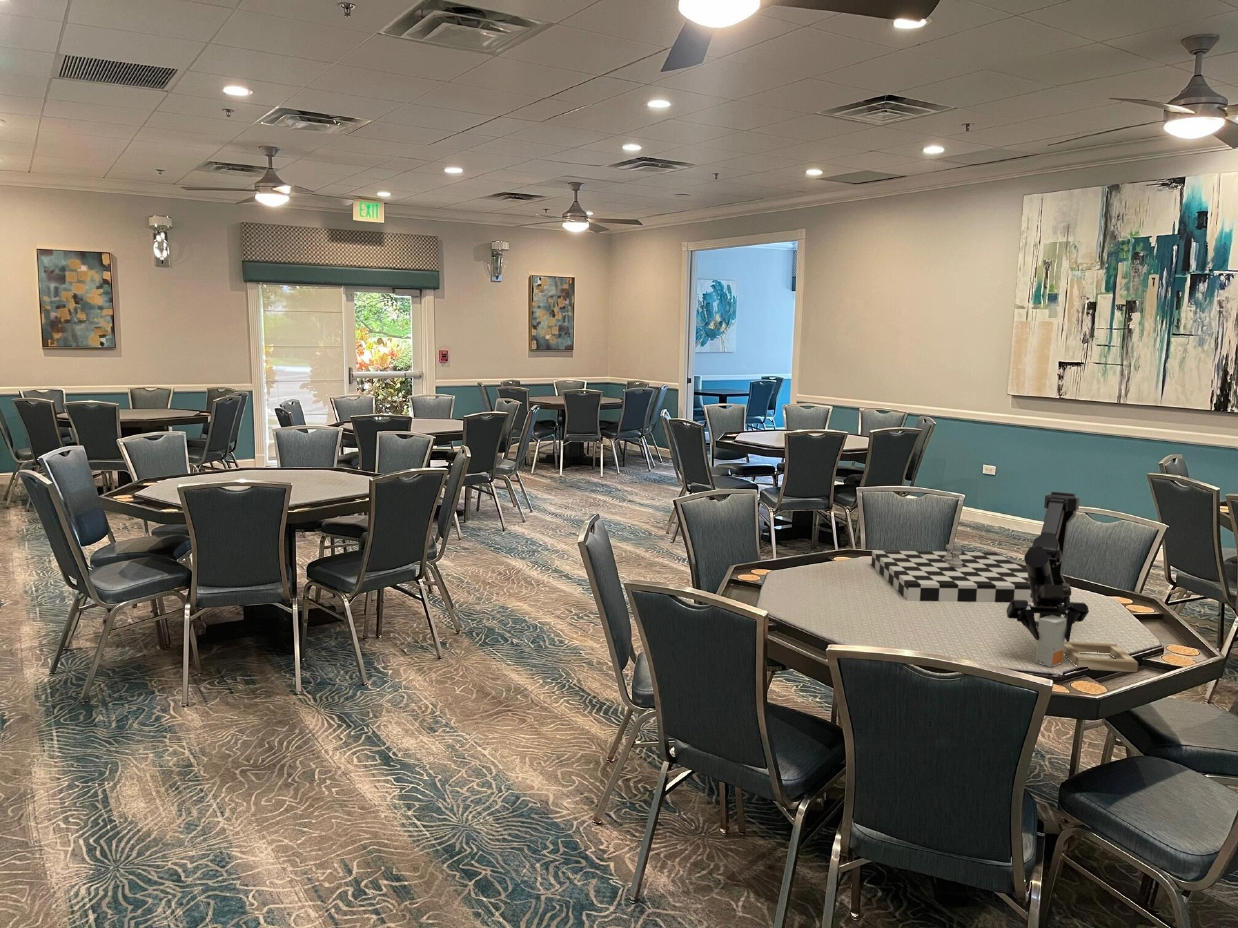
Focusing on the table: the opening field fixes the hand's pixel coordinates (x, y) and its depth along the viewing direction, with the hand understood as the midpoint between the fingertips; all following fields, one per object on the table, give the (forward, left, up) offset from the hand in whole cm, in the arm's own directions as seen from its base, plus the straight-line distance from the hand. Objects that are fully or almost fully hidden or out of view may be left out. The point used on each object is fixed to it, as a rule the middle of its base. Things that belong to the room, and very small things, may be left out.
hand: (1052, 640), depth 230 cm
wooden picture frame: (-5, +13, -7) cm, 16 cm away
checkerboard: (-78, -6, -7) cm, 79 cm away
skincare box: (-1, 0, -7) cm, 7 cm away
